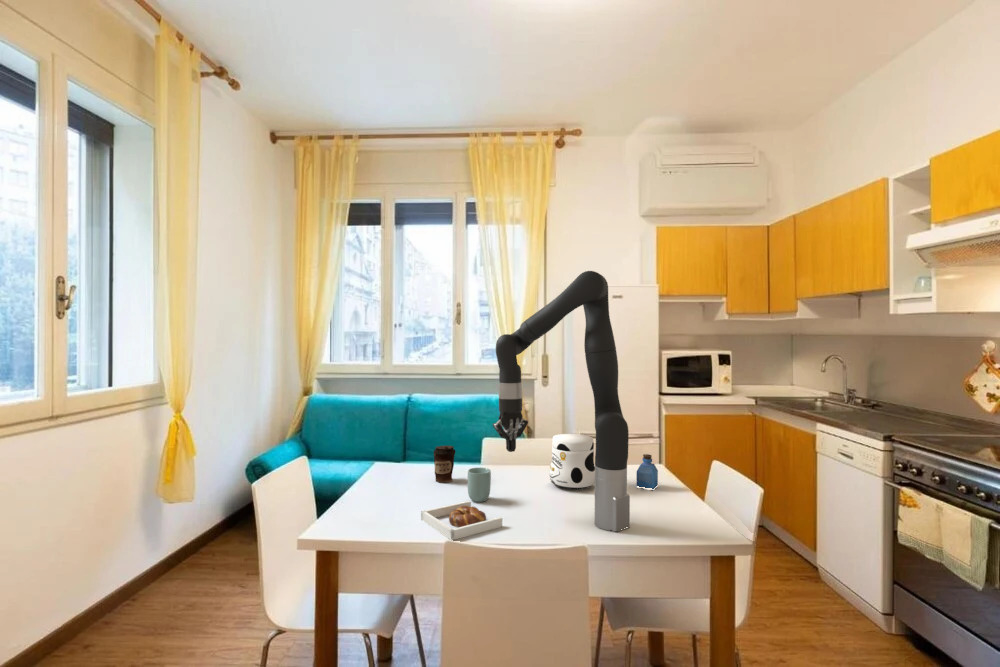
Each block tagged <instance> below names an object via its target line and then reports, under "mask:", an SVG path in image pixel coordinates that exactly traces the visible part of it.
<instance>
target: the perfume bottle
mask: <svg viewBox="0 0 1000 667" xmlns="http://www.w3.org/2000/svg"><path fill="white" fill-rule="evenodd" d="M642 456H643V457H642V459H641V460H642V463H640V464H639V466H638V468H637V470H636V485H635V486H639V487H645V488H652V489H654V488H655V487H656V486H657V485H659V484H658V483H659V479H658V478H659V471H658V468H657V467H656V464H655V463H653V458H652V456H653V455H652V454H648V453H647V454H645V453H644V454H643V455H642Z"/></svg>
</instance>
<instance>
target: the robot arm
mask: <svg viewBox="0 0 1000 667" xmlns="http://www.w3.org/2000/svg"><path fill="white" fill-rule="evenodd" d="M581 306H582V307H583V311H584V316H585V318H584V319H585V330H584V354H585V355H584V356H585V364H586V368H587V374H588V377H589V378H588V379H589V383H590V386H591V389H592V393H593V402H594V428H595V430H594V431H595V452H594V466H595V483H594V525H595V526H596V527H597V528H598V529H601V530H605V531H610V530H612V532H614V531H618V532H620V531H619V530H621V529H624V528H626V527H629V526H630V525H631V524H630V523H631V522H630V520H631V519H630V518H631V514H630V513H631V511H630V510H631V508H630V507H631V505H630V502H631V496H630V493H629V494H628V492H627V491H628V459H629V438H630V437H629V432H630V431H629V426H628V425H629V424H628V422H627V420H626V419H625V417H624V414H623V410H622V407H621V403H620V397H619V389H618V388H619V362H618V354H617V346H616V342H615V336H614V331H613V327H612V322H611V318H610V304H609V285H608V281H607V279H606V277H605V276H603V274H600V273H599V272H597V271H594V270H587V271H586V270H585V271H583V272H581V273H580V274H579V275H578V276H577V277H576V278H575V279H574V280H572V282H571V283H570V284H569V285H568V286H566V288H565V289H564V290H563V291H562V292H561V293H559V294H558V295H557V296H556V297H555V298H554V299H552V300H551V301H550V302H549V303H547V304H546V305H545V306H543V307H542V308H541V309H539V310H538V311H536V312H535V313H534V314H533V315H531V316H529V317H528V318H527V319H525V320H524V321H523V322H522V323H521V324H520V327H519V328H518V329H516V330H515V331H514V332H512V333H511V334H510V333H507V334H502V335H499V337H498V339H497V340H496V343H495V355H496V359H497V364H498V370H499V373H498V375H499V385H498V411H499V416H498V420H497V421H496V422H494V423H492V427H493V428H494V429H495V431H496V432H497V434H498V435H499V436H500V438H502V439H505V445H506V446H505V449H506V451H507V452H509V453H512V452H515V451H516V448H517V441H516V440H517V439H518V438H520V437H522V435H523V433H524V432H525V429H526V428H527V426H528V424H529V420H526V419H525V418H524V417H523V414H522V411H523V387H522V385H523V384H522V368H521V365H519V364H518V359H517V358H518V357H517V356H518V355H520V354H521V353H523V352H525V351H526V350H527V349H528V348H529V347H530V346H531V345H532V344H533V343H534V342H535V341H537V340H538V339H540V338H542V337H543V336H544V335H545V334H547V333H548V332H550V331H551V330H552V329H553V328H555V327H556V326H557V325H558V323H560V322H561V321H562V320H563V319H564V318H566V316H567V315H568V314H570V313H572V312H573V311H574V310H576V309H578V308H579V307H581ZM629 528H630V527H629ZM624 530H625V529H624ZM621 531H622V530H621Z"/></svg>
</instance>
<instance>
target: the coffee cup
mask: <svg viewBox="0 0 1000 667" xmlns="http://www.w3.org/2000/svg"><path fill="white" fill-rule="evenodd" d="M455 455H456V449H455V448H454V446H453V445H439V446H436V447H435V449H434V450H433V463H434V475H435V482H438V483H450V482H453V478H452V476H453V470H454V466H455V460H454V459H455Z"/></svg>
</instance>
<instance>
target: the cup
mask: <svg viewBox="0 0 1000 667" xmlns="http://www.w3.org/2000/svg"><path fill="white" fill-rule="evenodd" d="M491 482H492V472H491V469H489V468H486V467H472V468H469V469H467V494H468V497H469V499H470V501H471V502H475V503H482V502H485V501H487V500H488V499H489V497H490V494H491V488H492V487H491V486H492V485H491V484H492V483H491Z"/></svg>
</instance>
